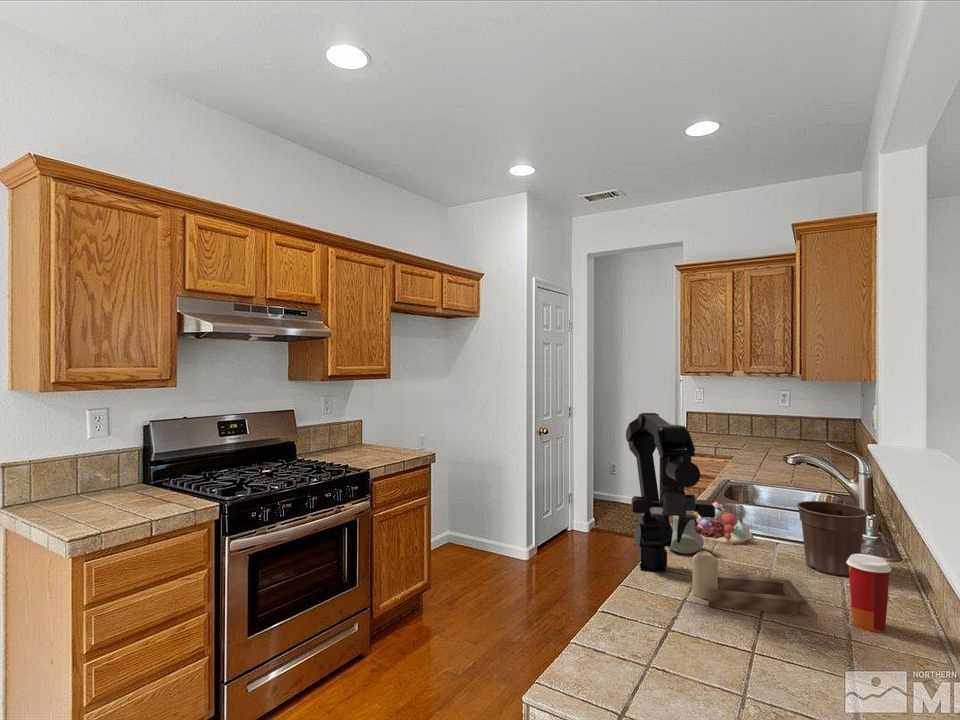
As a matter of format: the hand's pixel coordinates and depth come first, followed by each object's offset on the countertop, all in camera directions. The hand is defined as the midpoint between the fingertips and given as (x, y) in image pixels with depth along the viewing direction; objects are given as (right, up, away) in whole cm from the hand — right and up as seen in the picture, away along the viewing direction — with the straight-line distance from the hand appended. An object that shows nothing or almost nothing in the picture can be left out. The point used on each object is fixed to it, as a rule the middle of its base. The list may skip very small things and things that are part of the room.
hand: (671, 542), depth 131 cm
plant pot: (+48, -12, +15) cm, 52 cm away
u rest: (+16, -12, -4) cm, 20 cm away
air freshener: (+13, -12, +28) cm, 34 cm away
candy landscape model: (+29, -12, +47) cm, 57 cm away
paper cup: (+35, -12, -17) cm, 41 cm away
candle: (+7, -12, -2) cm, 14 cm away
